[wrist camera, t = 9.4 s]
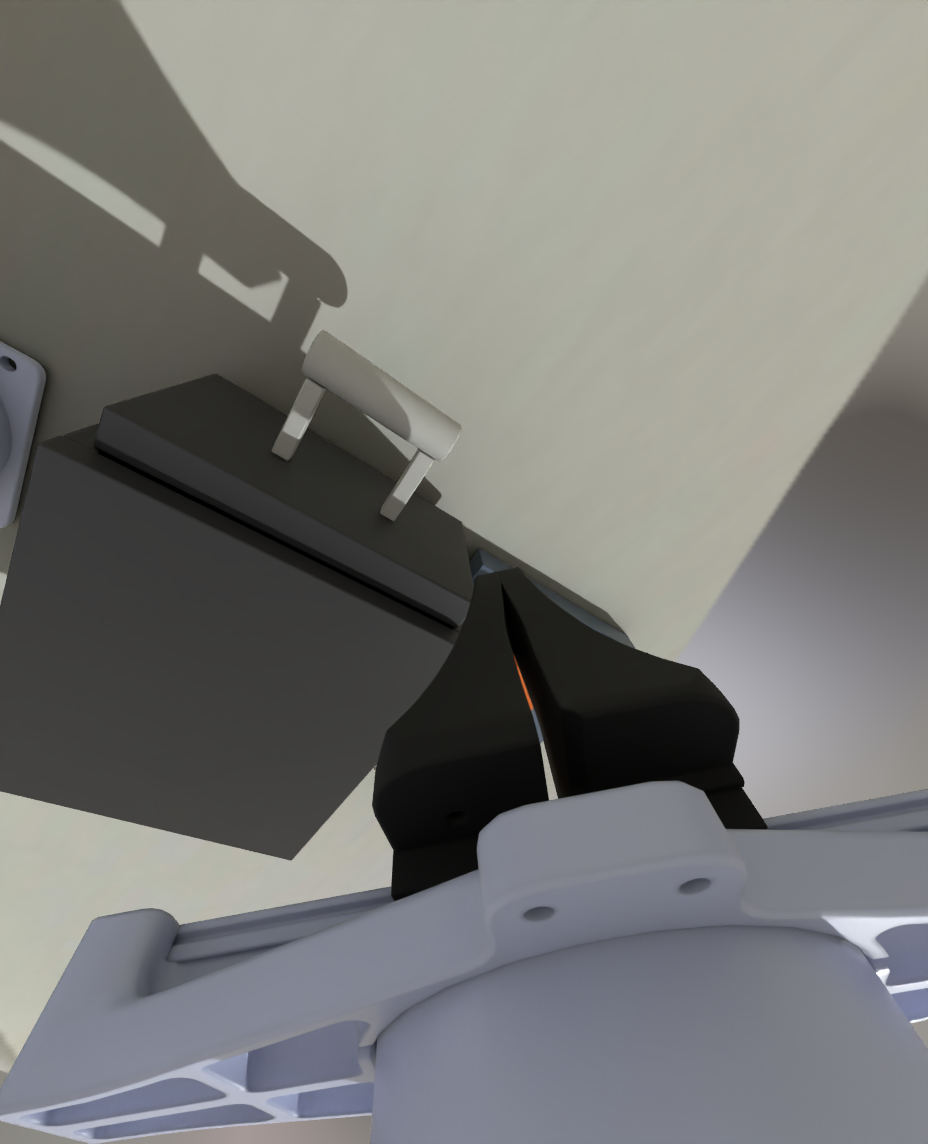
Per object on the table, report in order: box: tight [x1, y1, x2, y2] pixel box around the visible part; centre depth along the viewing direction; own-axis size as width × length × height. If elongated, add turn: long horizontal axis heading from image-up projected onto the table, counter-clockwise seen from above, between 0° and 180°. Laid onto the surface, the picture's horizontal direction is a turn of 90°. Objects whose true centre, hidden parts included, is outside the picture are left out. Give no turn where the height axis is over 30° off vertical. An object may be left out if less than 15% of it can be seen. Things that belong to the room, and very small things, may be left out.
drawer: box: [93, 330, 474, 628], centre depth 17 cm, size 18×11×7 cm, turn 145°
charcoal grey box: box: [0, 423, 465, 860], centre depth 19 cm, size 15×13×9 cm
